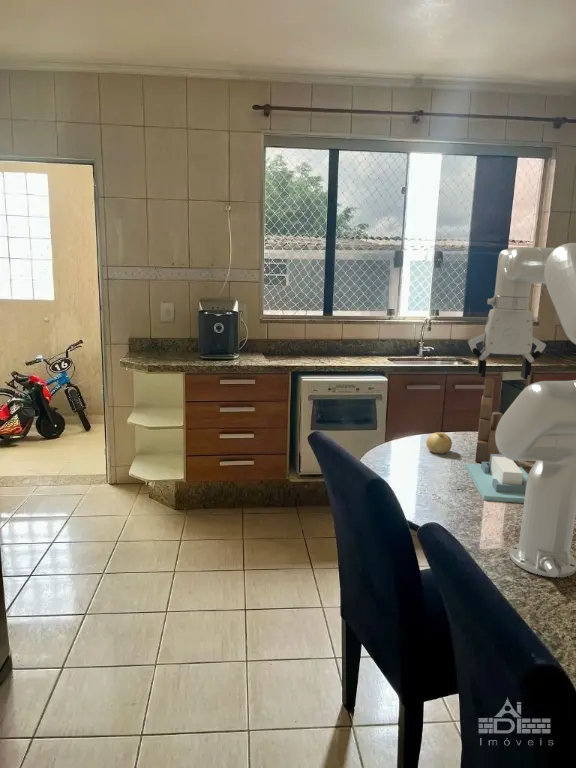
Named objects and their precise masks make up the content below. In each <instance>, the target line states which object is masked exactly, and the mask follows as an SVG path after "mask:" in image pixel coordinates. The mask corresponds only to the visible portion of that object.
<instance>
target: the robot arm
mask: <svg viewBox="0 0 576 768" xmlns="http://www.w3.org/2000/svg"><path fill="white" fill-rule="evenodd" d="M497 259H498V260H497V270H496V277H495V287H494V288H495V289H494V295H493V297H491V298H487V305H491V306H492V307H493V308H492V309H490V310H489V312H488V315H487V319H486V323H485V328H484V333H482V334H480V335H478V336H474V337H472V338H471V339H469V340H468V341H467V344H468V345H469V347H470V348H469V349H470V350H471V352H472V353H473V355H474V356H475V357H476V358H477V368H476V369H477V371H476V372H477V373H478V375H479V376H480V377H481V378H485V377H486V372H487V360H486V358H487V357H488V356H490V354H493V355H494V354H495V355H498V354H499V355H516V356H517V355H519V356H522V357H523V359H524V360H522V362H521V368H520V369H521V371H520V377H521V378H522V379H524V380H528V379H529V376H530V375H531V372H532V371H531V370H532V363H534V362H535V361H536V359H538V358H539V357H540V356H541V354H542V352H543V351H544V350H545V348H546V347H547V344H546V343H545V342H543V341H541V340H539V339H537V338H536V337H534V336H533V331H534V330H533V329H534V327H533V324H534V323H533V322H534V321H533V312H532V311H531V310H529V305H530V298H531V297H530V296H531V289H532V284H540V285H541V284H542V285H543V284H544V285H545V286H546V289H547V292H548V294H549V297H550V300H551V302H552V304H553V307H554V309H555V311H556V314H557V316H558V319H559V321H560V324H561V327H562V328H563V332H564V333H565V335H566V337H567V338H568V339H569V340H570V342H571V343H573V344H574V345H576V242H568V243H564V244H560V245H559V246H557V247H531V246H529V247H527V246H524V247H516V248H507V249H502V250H501V251H500V252H499V254H498V258H497ZM481 342H482V349H481V350H479V349H478V348H477V345H478V343H481ZM533 344H534V345H535V346H536V348H535V349H534V350H533V351H532V348H533V347H532V346H533ZM495 441H496V446H497V448H498V450H499V454H500V455H503V456H504V457H506V458H508V459H510V460H513V461H514V462H515V461H518V462H535V463H533V465H532V467H531V468H530V470H529V472H528V478H527V484H526V492H525V500H524V503H523V510H522V517H521V518H522V519H521V523H520V524H521V526H520V533H519V541H518V542H517V543H515V544H513V545H511V547H510V549H509V557H510V559H511V561H512V562H513V563H514V564H515V565H516V566H518V567H519V568H521V569H523V570H525V571H527V572H528V573H529V572H530V573H532V574H534V575H537V574H538V576H541V575H542V577H547V578H556V577H557V578H559V577H560V578H567V576H568V577H570V576H572V575H574V574H575V573H576V558H575V557H573V556H572V554H571V549H572V543H573V542H572V541H573V537H574V528H575V523H576V379H573V380H540V381H535V382H533V383H531V384H529V385H527V386H526V387H525V388H524V389H522V391H521V392H520V393H519V395H518V396H517V397H516V398H515V399H514V401H513V402H512V403H511V404H510V405H509V406H508V408H507V410H506V411H505V412H504V414H502V418H501V419H500V421H499V423H498V426H497V429H496V434H495ZM557 578H556V579H557Z"/></svg>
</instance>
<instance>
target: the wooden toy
mask: <svg viewBox="0 0 576 768" xmlns="http://www.w3.org/2000/svg"><path fill="white" fill-rule="evenodd" d="M483 386H484V387H483V394H482V396H481V401H480V402H481V403H480V413H479V422H478V430H477V440H476V441H477V442H476V449H475V450H476V451H475V458H474V459H475V461H474V462H475V463H479V464H482V462H490V455H491V454H500V452H499V450H498V448H497V446H496V441H495V434H496V429H497V426H498V423H499V421H500V419H501V418H502V416H503V413H502V412H499V411H493V412H492V409H493V401H494V387H495V379H493V378H485V380H484V385H483Z"/></svg>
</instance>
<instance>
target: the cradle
mask: <svg viewBox="0 0 576 768" xmlns="http://www.w3.org/2000/svg"><path fill="white" fill-rule="evenodd" d="M489 464H490V462H482V463H465V470H466V471H467V473H468V474H469V476H470V478H471V480H472V481H473V484H474V485H475V487H476V488H477V490H478V493H479V494H480V496H481V498H482V500H483V501H488V502H489V501H493V502H503V503H504V502H505V503H506V502H507V503H519V504H521V503H522V504H524V500H525V492H526V484H527V478H528V475H529V473H528V472H526V470H524V468H523V466H518V467H519V469H520V470H521V471H522V472H523V478H522V485H515V484H500V483H499V482H498V480H497V479H494V478H493V476H492V475H491V473H490V472H489Z"/></svg>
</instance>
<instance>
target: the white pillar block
mask: <svg viewBox="0 0 576 768" xmlns="http://www.w3.org/2000/svg"><path fill="white" fill-rule="evenodd" d="M519 467H520V466H518V465H517V463H515V460H510V459H508V458H506V457H504V456H503V455H502V454H501V453H498V454H491V455H490V464H489V472H490V473H491V475H492V476H493V478H494V479H497V480H498V482H499V483H500V484H515V485H522V478H523V472H522V471H521V470H520V469H519Z"/></svg>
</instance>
